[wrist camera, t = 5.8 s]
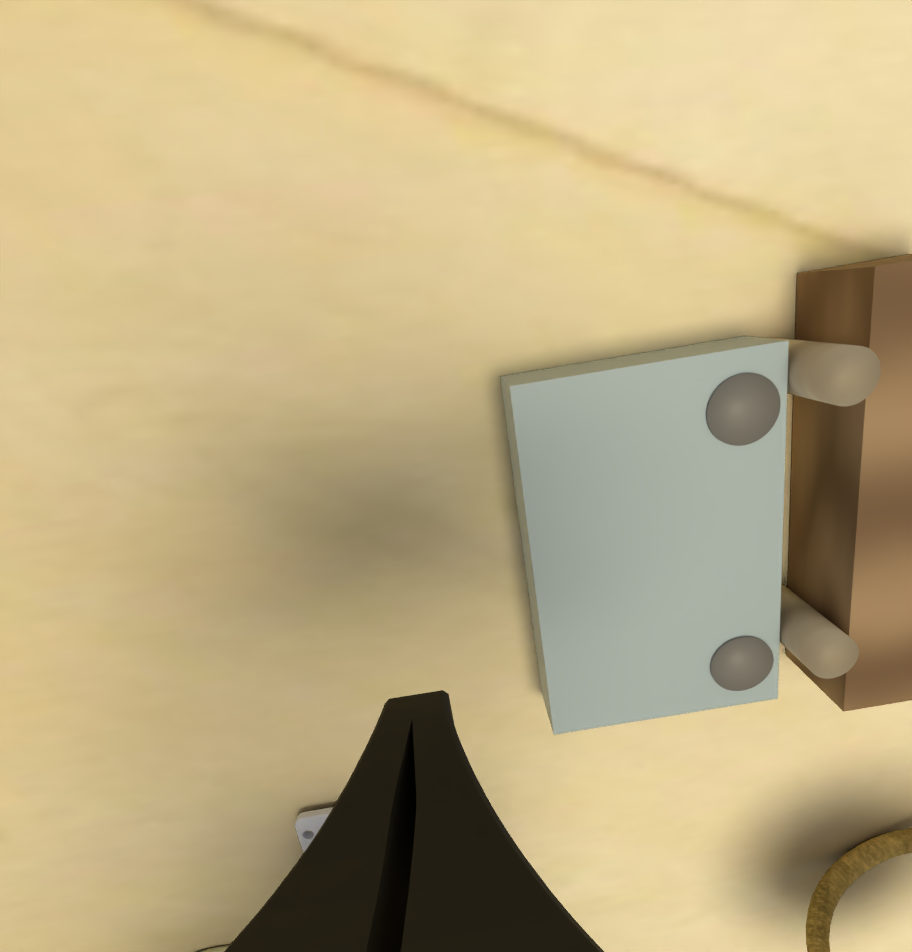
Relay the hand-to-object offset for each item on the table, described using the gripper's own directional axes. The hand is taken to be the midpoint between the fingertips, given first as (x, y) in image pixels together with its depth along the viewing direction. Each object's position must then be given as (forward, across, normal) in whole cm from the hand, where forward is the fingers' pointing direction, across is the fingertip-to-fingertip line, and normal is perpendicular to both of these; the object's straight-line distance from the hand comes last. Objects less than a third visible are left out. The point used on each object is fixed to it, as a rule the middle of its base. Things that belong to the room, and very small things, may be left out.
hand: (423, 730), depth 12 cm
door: (+10, -8, +1) cm, 13 cm away
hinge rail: (+10, -17, 0) cm, 19 cm away
